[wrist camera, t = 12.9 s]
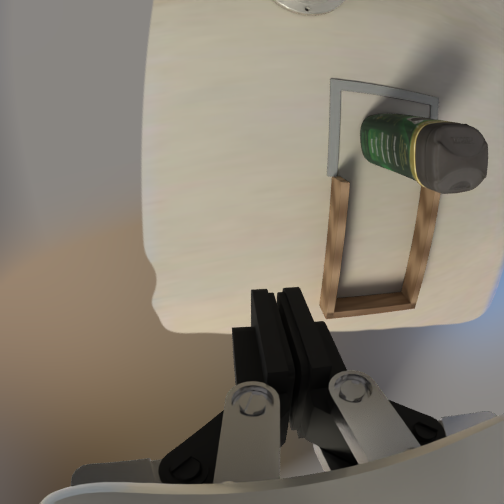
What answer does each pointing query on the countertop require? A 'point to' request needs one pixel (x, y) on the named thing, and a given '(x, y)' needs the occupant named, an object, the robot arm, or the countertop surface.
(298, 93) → the countertop surface
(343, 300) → the wooden u-shaped frame
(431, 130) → the coffee jar
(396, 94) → the grey bay
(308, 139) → the countertop surface
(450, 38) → the countertop surface
